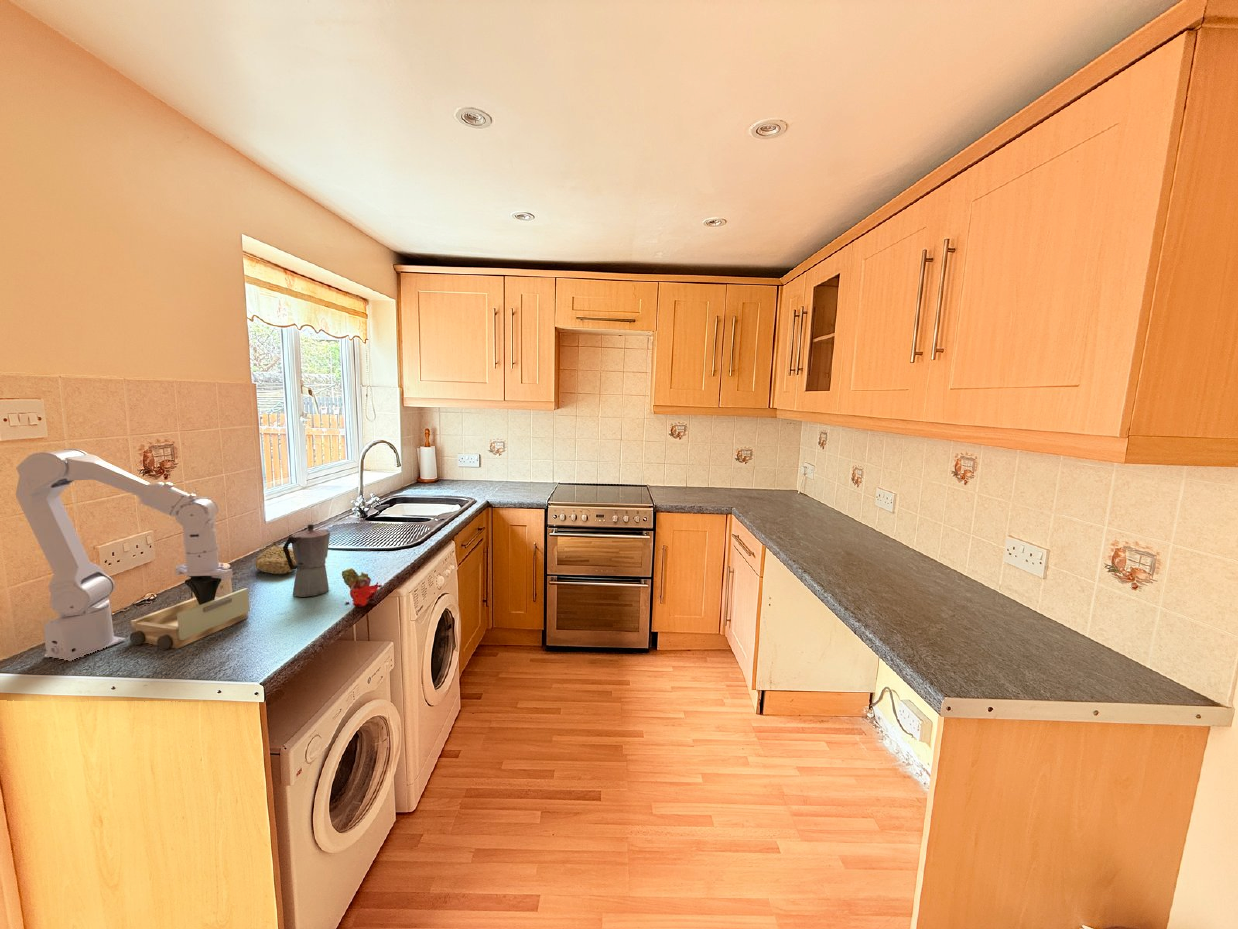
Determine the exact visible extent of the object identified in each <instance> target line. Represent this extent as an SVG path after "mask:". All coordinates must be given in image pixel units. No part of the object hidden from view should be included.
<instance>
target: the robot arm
mask: <svg viewBox="0 0 1238 929" xmlns="http://www.w3.org/2000/svg"><path fill="white" fill-rule="evenodd" d="M16 471H17V474H18V475H19V476H18V482H17V485H16V489H15V490H16V491H15V496H16V500H17V502H18V504H19V505H20V508H21V510H22V512H23V514H24V516H25V518H26V520H27V522H28V524H29V526H30V528H31V530H32V532H33V534H34V536H35V538H36V540H37V542H38V544H39V546H40V549H41V551H42V553H43V554H44V556H45V559H46V560H47V563H48V564H49V566H50V569H51V570H52V572H53V575H52V577H51V579H50V581H49V583H48V587H47V589H48V590H49V592H50V599H49V605H50V608H51V609H52V610H53V611H54V612H55V613H57V614H59V615H57V616H56V617H55V618H53V619H50V620H47V621H46V622H45V623H44V624H43V627H42V628H43V630H42V631H43V632H42V633H43V638H44V645H45V651H46V652H45V654H44V655H43V656H45V658H49V657H54V658H59V659H58V660H60V659H64V660H63V661H66V660H68V661H67V662H73V661H75V660H74V659H76V658H78V659H80V658H79V657H81V658H83V657H85V656H84V655H86V654H89V655H91V654H93V652H94V653H96V652H98V651H97V650H99V651H101V650H104V649H106V647H107V648H109V647H112V646H114V645H116V644H119V643H121V642H124V641H126V638H125V637H120V636H115V633H114V626H113V618H112V611H111V604H110V596H111V595H112V593H113V592H114V591H115V588H116V583H115V581H114V579H113V578H112V577H111V576H109V575H108V574H106V573H105V572H104V570H103V568H102V566H101V565H98V564H96V563H94V562H91V561H90V559H89V556H88V553H87V552H86V550H85V548H84V545H83V543H82V541H81V539H80V537H79V535H78V533H77V531H76V529H75V527H74V524H73V522H72V520H71V517H70V516H69V514H68V512H67V510H66V507H65V506H64V502H63V501H62V499H61V497H60V496H61V495H62V493H63V492H64V491H65V490H66V489H67V488H68V487H69V486H70V484H72V483H73V482H75V481H88V480H89V481H91V480H92V481H97V482H99V483H101V484H104V485H107V486H110V487H113V488H115V489H119V490H121V491H124V492H126V493H129V494H132V495H135V496H137V497H138V499H139V502H140V504H142V505H144V506H146V507H149V508H151V509H154V510H156V511H158V512H161V513H163V514H165V515H168V516H170V517H173V518H175V519H176V520H175V521H177V522H176V523H178V524H179V525H180V526H181V527H182V536H183V546H184V547H183V548H184V555H185V564H182V565H177V566H175V567H174V572H175V573H174V574H175V576H181V575H186V576H187V577H189V576H191V577H190V579H189V578H188V579H186V580H184V584H185V585H186V586H187V587H188V588H189V590H190V589H191V590H192V592H193V593H194V595H195V597H196V599H197V601H198V603H199V605H202V604H204V603H207V602H210V601H212V600H214V599H215V595H216V591H217V588H218V586H219V584H220V582H221V580H226V579H229V578H231V579H233V578H234V577H233V569H232V568H231V569H227V568H225V567H223V563H224V562H220V561H219V552H218V540H217V530H216V523H215V522H216V521H215V517H217V516H216V515H217V514H218V512H219V508H218V505H217V504H216V502H214V500H211V498H209V497H205V496H200V497H197V495H196V494H195V493H188V492H186V491H183V490H181V489H178V488H176V487H174V486H175V484H174V483H172V482H162V481H158V482H152V483H150V482H148V481H146V480H144V479H142V478H140V477H138V476H136V475H134V474H132V473H130V472H127V471H126V470H124V469H122V468H120V467H117V466H115V465H113V464H111V463H109V462H106V461H105V460H104V459H102V458H100V457H99V456H97V455H94V454H91V453H87V452H86V451H83V450H81V449H78V448H64V449H61V450H52V451H47V452H46V451H41V452H35V453H32V454H29V455H28V456H27V457H26V458H24V459H23V460H22V461H21V463H19V465H17V466H16ZM103 648H104V649H103ZM95 651H96V652H95ZM90 653H91V654H90ZM86 656H87V655H86ZM54 658H53V659H54ZM72 660H73V661H72ZM76 660H77V659H76Z"/></svg>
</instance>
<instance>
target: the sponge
mask: <svg viewBox="0 0 1238 929" xmlns="http://www.w3.org/2000/svg"><path fill="white" fill-rule="evenodd" d="M283 546H284V545H283ZM283 546H282V545H273V546H272V547H269V548H268V549H265V550H263V552H261V553H260V554H259V555H258V556H257V557H256V559H255V560H254V562H255V563H254V564H255V568H256V569H257V570H259V571H261V572H264V573H268V574H271V575H272V574H273V575H285V574H289V573H291V572H293V571H294V570H295V569H293V570H291V569H290V567H289V565H288V561H287V558H286V555H285V552H284V550H283ZM288 549H289V551H290V557H291V561H292V563H293V565H294V566H295V565H296V561H295V560H294V555H293V548H292V547H289V546H288Z"/></svg>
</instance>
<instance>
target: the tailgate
mask: <svg viewBox="0 0 1238 929" xmlns="http://www.w3.org/2000/svg"><path fill="white" fill-rule="evenodd" d="M249 596H250V595H249V588H247V587H244V588H242V589H241V588H240V589H239V590H236V591H234V592H233V591H232V593H231V594H228V595H225V596H223V597H220V598H217V599H215V600H212V601H210V602H207V603H204V604H202V605H199V606H196V607H194V608H191V609H188V610H186V611H183V612H180V613H178V614H177V620H178V629H179V638H180V640H184V639H187V638H189V637H191V636H194V635H196V634H198V633H201V632H203V631H205V630H207V629H210V628H212V627H214V626H217V625H219V624H221V623H224V622H226V621H228V620H231V619H233V618H235V617H238V616H240V615H242V614H245V613H247V612H248V613H249V612H250V611H251V609H250V608H251V607H250V597H249Z"/></svg>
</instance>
